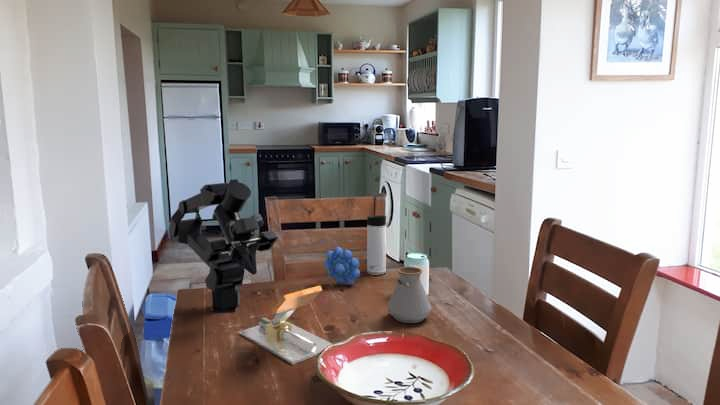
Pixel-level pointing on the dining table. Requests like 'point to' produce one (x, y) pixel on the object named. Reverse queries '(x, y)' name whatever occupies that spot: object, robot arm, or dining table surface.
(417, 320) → the coffee pot
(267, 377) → the dining table surface
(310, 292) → the valve lever
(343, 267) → the blue bumpy rounded lump
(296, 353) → the valve body
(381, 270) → the travel mug
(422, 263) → the can
